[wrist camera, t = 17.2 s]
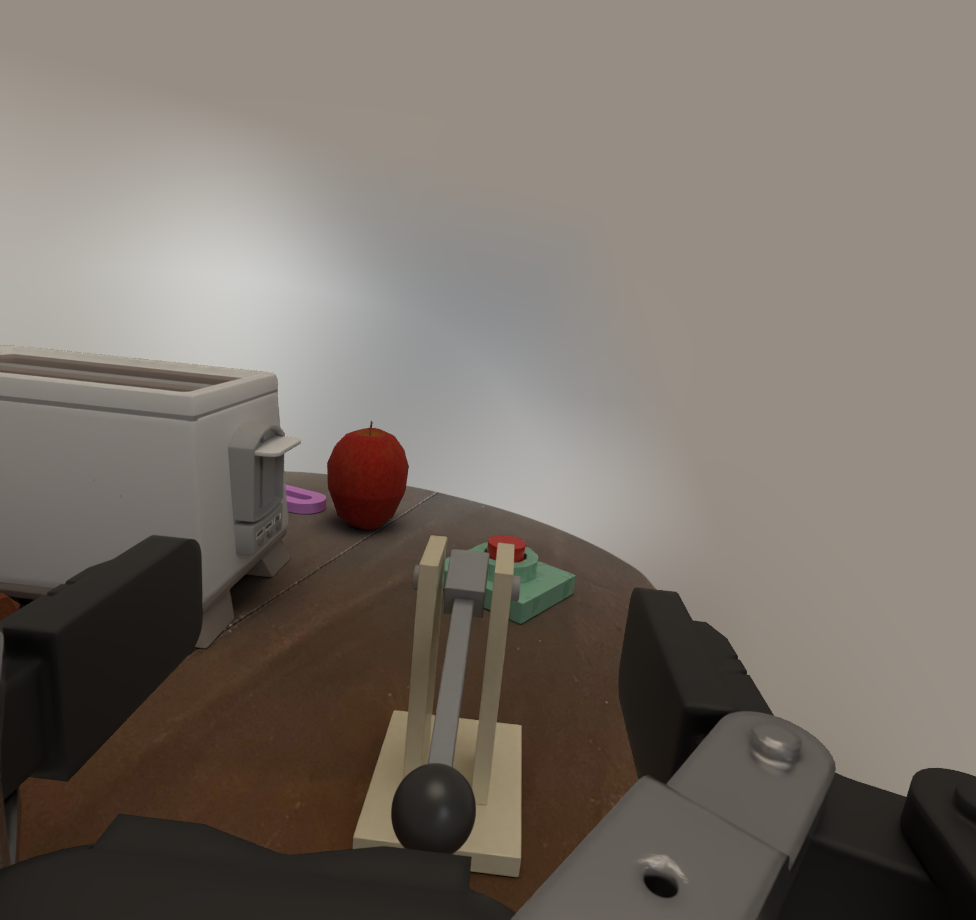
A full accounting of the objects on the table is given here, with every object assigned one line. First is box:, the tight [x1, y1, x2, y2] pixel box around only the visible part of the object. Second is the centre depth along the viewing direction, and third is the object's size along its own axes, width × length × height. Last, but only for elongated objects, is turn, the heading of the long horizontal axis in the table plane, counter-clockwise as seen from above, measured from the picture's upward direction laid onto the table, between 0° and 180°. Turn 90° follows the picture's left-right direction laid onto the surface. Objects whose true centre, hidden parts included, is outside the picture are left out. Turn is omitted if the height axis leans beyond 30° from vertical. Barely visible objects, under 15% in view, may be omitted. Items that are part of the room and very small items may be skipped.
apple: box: [327, 421, 409, 530], centre depth 81 cm, size 10×10×14 cm
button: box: [487, 535, 526, 563], centre depth 67 cm, size 4×4×2 cm
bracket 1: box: [285, 485, 326, 514], centre depth 88 cm, size 13×6×7 cm, turn 65°
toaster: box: [0, 345, 301, 648], centre depth 59 cm, size 19×34×21 cm, turn 87°
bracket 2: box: [352, 535, 522, 877], centre depth 37 cm, size 11×9×16 cm
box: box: [443, 542, 576, 624], centre depth 68 cm, size 12×10×4 cm
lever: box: [391, 549, 489, 854], centre depth 31 cm, size 15×4×4 cm, turn 177°
